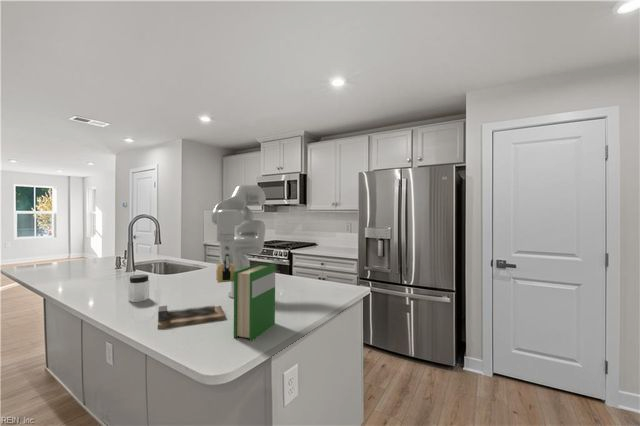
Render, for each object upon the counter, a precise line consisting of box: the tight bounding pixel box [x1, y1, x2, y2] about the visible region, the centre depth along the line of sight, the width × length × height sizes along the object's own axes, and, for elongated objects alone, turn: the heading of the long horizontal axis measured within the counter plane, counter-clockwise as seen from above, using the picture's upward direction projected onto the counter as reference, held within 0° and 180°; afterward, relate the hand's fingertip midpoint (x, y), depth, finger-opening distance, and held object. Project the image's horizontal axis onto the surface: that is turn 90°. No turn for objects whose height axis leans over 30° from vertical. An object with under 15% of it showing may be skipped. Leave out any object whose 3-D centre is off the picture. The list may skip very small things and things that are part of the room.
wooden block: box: [215, 263, 235, 284], centre depth 133 cm, size 7×6×7 cm
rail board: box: [157, 304, 226, 329], centre depth 127 cm, size 25×14×6 cm, turn 116°
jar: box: [128, 273, 150, 303], centre depth 151 cm, size 9×8×12 cm
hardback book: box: [233, 262, 276, 342], centre depth 115 cm, size 18×7×24 cm, turn 161°
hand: (225, 278), depth 133 cm, fingers closed on wooden block, 6 cm apart
